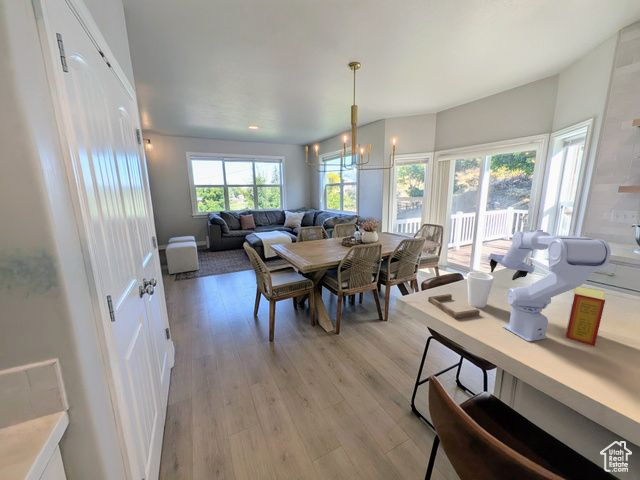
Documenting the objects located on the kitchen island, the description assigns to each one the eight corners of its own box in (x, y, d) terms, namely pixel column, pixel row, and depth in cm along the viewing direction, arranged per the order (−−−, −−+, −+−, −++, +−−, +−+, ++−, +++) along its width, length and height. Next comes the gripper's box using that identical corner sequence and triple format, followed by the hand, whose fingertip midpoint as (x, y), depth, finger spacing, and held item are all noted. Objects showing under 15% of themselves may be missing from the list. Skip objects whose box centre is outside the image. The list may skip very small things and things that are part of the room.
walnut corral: (479, 315, 99) (479, 310, 99) (455, 319, 97) (455, 314, 96) (449, 298, 114) (450, 294, 114) (428, 301, 112) (428, 296, 112)
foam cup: (482, 299, 112) (486, 272, 110) (494, 309, 103) (498, 279, 101) (460, 299, 113) (463, 271, 111) (470, 308, 104) (473, 279, 102)
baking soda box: (567, 326, 90) (575, 284, 87) (593, 333, 86) (603, 289, 82) (565, 337, 84) (575, 293, 80) (594, 346, 79) (605, 299, 76)
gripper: (541, 254, 92) (525, 274, 102) (496, 240, 99) (485, 260, 109) (537, 269, 89) (521, 287, 99) (491, 253, 96) (480, 272, 106)
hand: (502, 274), depth 104 cm, fingers open, 7 cm apart
